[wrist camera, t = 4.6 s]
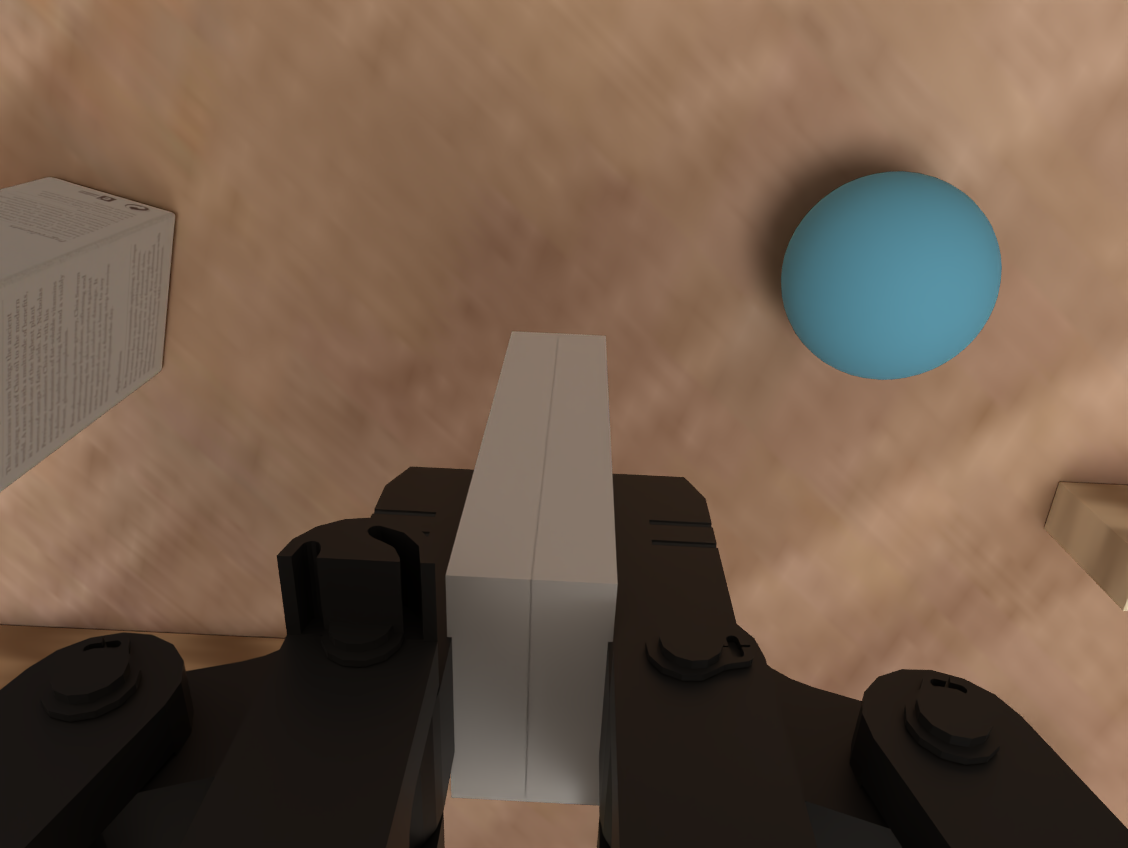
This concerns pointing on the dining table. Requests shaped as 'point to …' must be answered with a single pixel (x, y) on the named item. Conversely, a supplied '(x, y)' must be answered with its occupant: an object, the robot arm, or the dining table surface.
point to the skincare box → (75, 311)
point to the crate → (20, 647)
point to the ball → (891, 275)
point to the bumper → (1094, 532)
